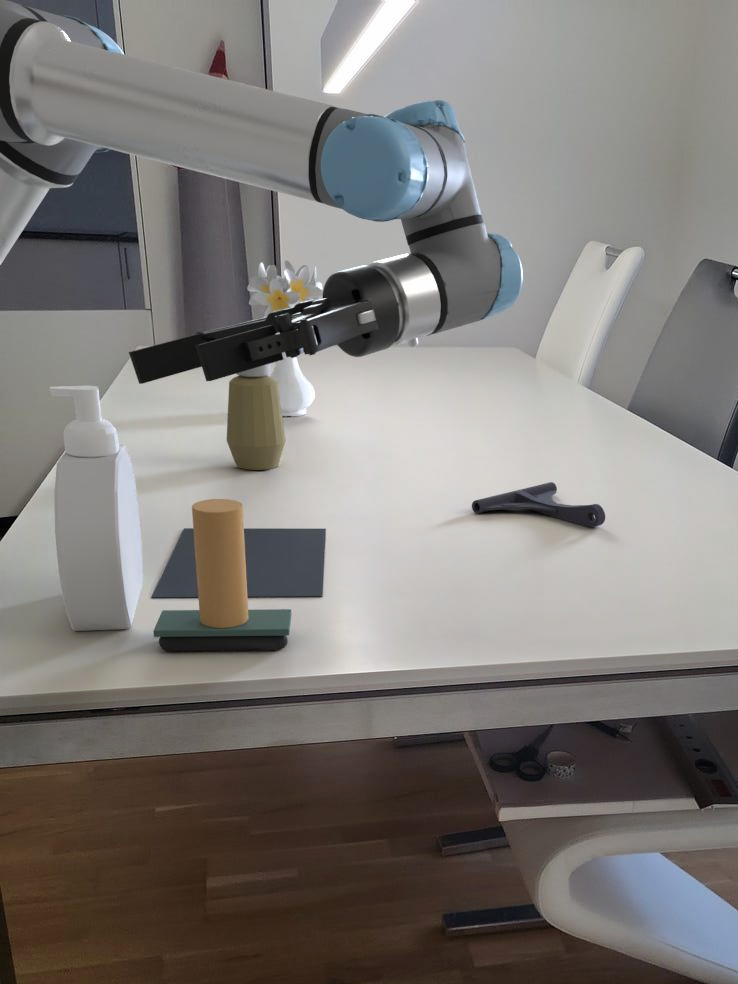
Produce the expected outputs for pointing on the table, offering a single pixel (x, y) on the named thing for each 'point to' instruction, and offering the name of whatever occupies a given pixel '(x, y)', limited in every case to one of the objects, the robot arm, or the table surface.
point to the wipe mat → (256, 564)
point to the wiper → (221, 591)
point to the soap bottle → (96, 520)
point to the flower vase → (278, 297)
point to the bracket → (542, 505)
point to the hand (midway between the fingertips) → (166, 365)
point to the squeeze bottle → (255, 420)
